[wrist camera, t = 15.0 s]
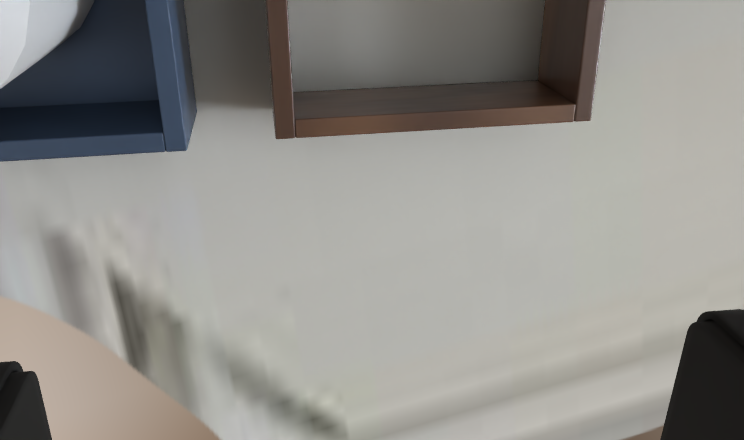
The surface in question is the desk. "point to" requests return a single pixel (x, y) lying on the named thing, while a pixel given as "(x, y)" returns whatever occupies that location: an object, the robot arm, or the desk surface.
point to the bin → (105, 87)
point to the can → (35, 31)
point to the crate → (448, 86)
